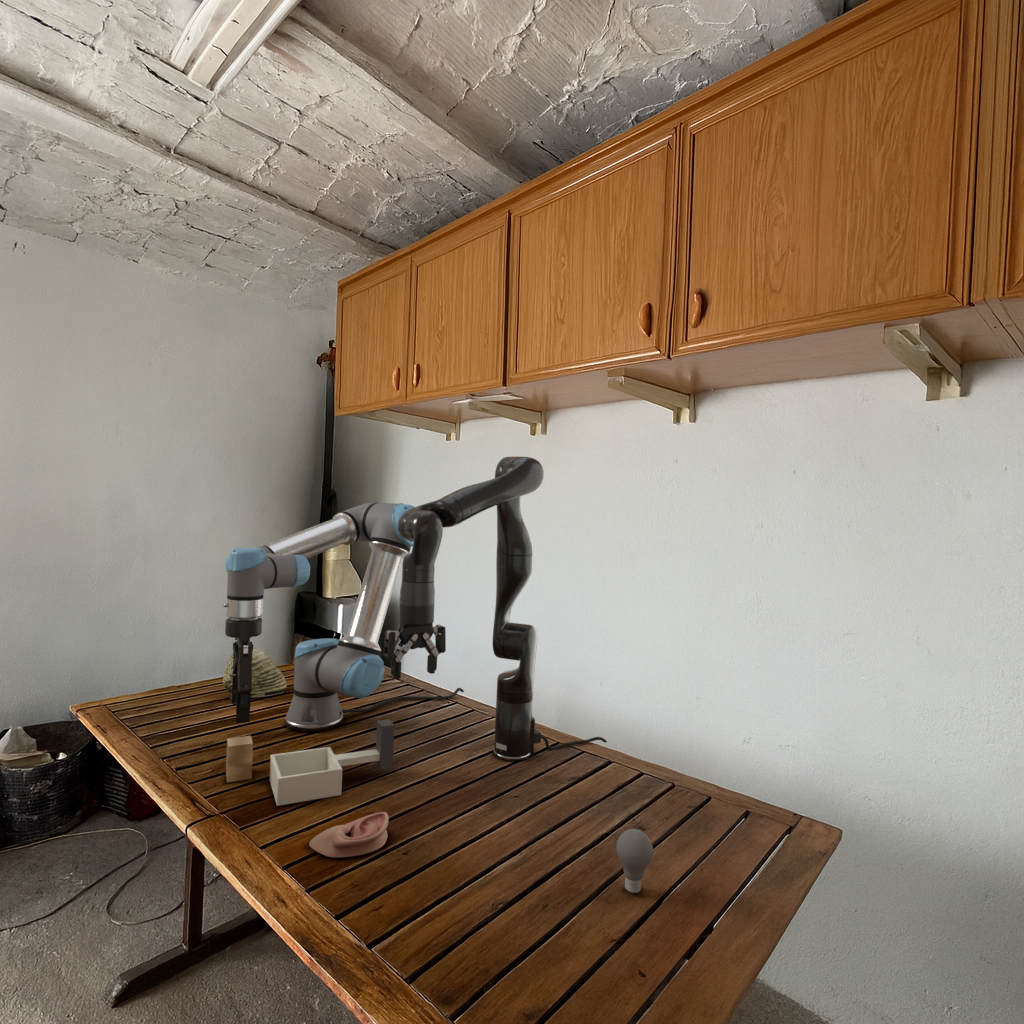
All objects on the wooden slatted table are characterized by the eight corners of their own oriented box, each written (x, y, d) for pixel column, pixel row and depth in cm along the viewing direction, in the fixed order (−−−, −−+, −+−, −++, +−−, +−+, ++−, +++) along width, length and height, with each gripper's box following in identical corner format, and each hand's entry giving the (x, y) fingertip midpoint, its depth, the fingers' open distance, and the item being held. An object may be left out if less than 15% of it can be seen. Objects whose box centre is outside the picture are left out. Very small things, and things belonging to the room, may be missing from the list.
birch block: (249, 770, 145) (250, 735, 145) (251, 778, 141) (253, 743, 140) (225, 773, 143) (227, 738, 143) (227, 782, 138) (228, 746, 138)
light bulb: (610, 879, 108) (613, 822, 108) (644, 879, 109) (647, 822, 109) (619, 902, 102) (622, 840, 102) (655, 901, 103) (658, 840, 103)
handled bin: (382, 762, 152) (384, 713, 152) (398, 785, 141) (400, 731, 141) (269, 779, 141) (271, 726, 140) (276, 806, 129) (279, 747, 129)
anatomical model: (300, 830, 112) (331, 801, 124) (300, 852, 112) (331, 821, 124) (370, 841, 110) (395, 810, 121) (369, 864, 110) (395, 831, 121)
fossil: (218, 695, 195) (220, 647, 195) (278, 685, 208) (279, 640, 207) (228, 703, 189) (230, 653, 188) (289, 692, 201) (290, 645, 201)
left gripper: (222, 608, 150) (218, 697, 151) (229, 629, 128) (224, 733, 128) (256, 607, 154) (252, 694, 154) (268, 627, 132) (264, 729, 132)
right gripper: (396, 606, 130) (393, 684, 131) (454, 602, 139) (451, 675, 140) (379, 601, 136) (376, 675, 137) (435, 596, 145) (433, 667, 146)
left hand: (240, 712), depth 141 cm, fingers open, 13 cm apart
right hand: (414, 675), depth 138 cm, fingers open, 8 cm apart
